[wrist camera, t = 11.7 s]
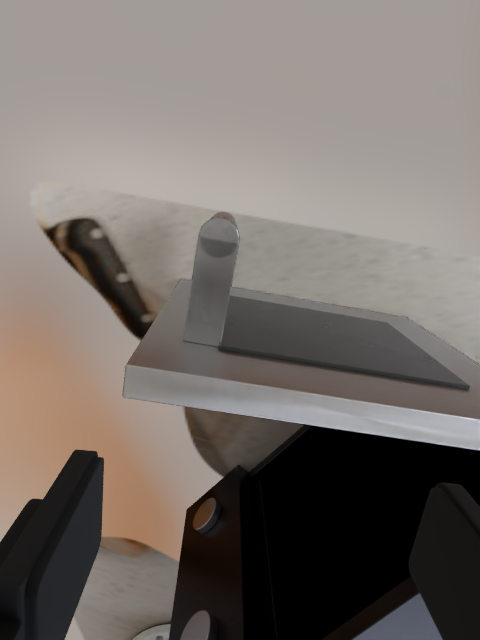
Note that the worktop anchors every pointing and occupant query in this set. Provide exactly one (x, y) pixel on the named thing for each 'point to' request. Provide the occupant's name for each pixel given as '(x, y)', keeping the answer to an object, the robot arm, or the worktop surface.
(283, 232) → the worktop surface
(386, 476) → the microwave
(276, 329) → the microwave door
